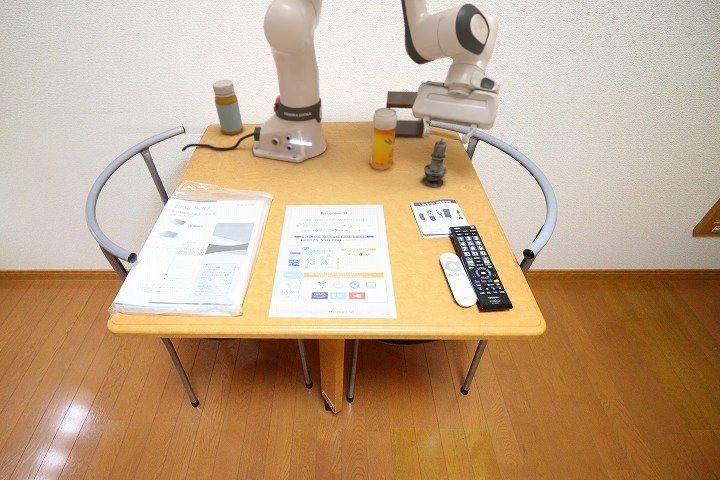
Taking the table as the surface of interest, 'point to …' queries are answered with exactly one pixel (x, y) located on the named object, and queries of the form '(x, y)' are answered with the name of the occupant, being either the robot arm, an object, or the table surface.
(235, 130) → the bottle
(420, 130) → the shelf
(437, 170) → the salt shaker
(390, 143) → the beer can
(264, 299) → the table surface
